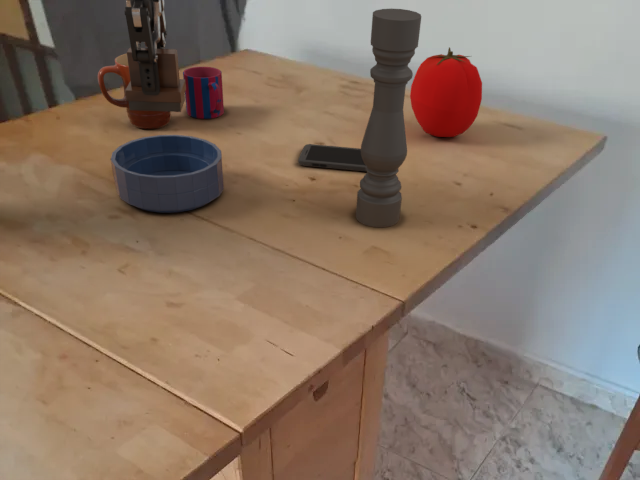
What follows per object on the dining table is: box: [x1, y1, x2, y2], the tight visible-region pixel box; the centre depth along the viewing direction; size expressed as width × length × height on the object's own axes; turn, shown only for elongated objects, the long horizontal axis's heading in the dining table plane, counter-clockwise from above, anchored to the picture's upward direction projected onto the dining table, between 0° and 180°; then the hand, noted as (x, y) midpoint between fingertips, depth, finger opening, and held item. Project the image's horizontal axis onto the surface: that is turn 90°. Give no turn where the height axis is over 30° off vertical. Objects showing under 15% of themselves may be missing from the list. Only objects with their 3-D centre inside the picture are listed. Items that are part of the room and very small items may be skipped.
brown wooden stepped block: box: [125, 47, 186, 113], centre depth 89 cm, size 7×6×6 cm
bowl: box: [110, 134, 225, 214], centre depth 98 cm, size 15×15×6 cm
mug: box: [97, 53, 172, 130], centre depth 116 cm, size 12×9×10 cm
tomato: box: [409, 47, 483, 138], centre depth 116 cm, size 12×12×13 cm
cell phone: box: [297, 143, 367, 173], centre depth 110 cm, size 7×14×1 cm, turn 81°
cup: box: [182, 66, 225, 120], centre depth 121 cm, size 7×10×7 cm
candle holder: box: [355, 8, 422, 228], centre depth 88 cm, size 6×6×25 cm
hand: (155, 86), depth 89 cm, fingers closed on brown wooden stepped block, 5 cm apart
